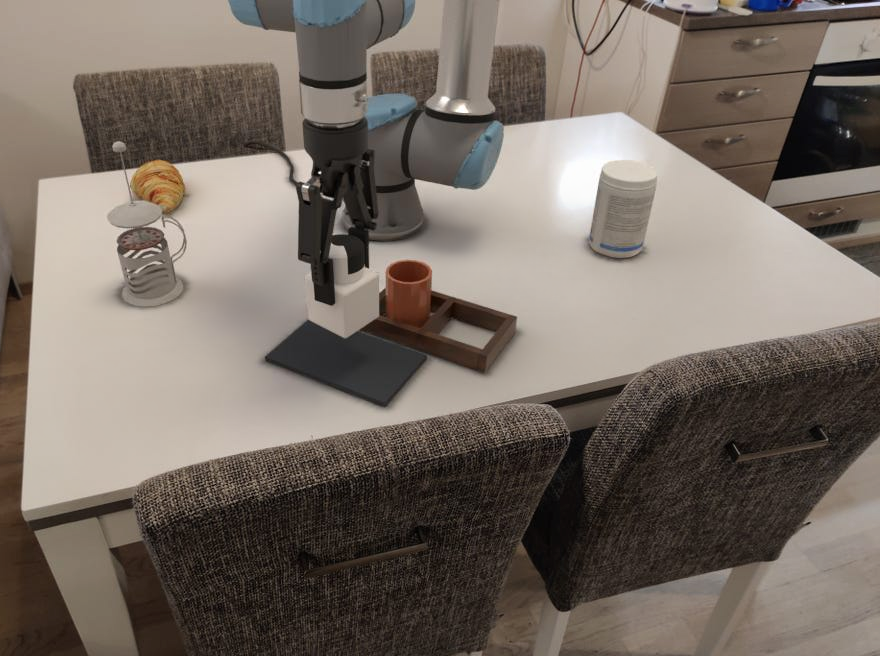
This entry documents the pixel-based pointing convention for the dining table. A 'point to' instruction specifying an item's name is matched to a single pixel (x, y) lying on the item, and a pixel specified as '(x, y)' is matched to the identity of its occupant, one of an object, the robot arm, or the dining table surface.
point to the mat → (348, 361)
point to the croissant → (158, 184)
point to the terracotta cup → (408, 292)
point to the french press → (153, 279)
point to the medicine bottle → (346, 290)
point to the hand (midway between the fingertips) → (342, 286)
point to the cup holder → (444, 312)
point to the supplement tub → (622, 208)
